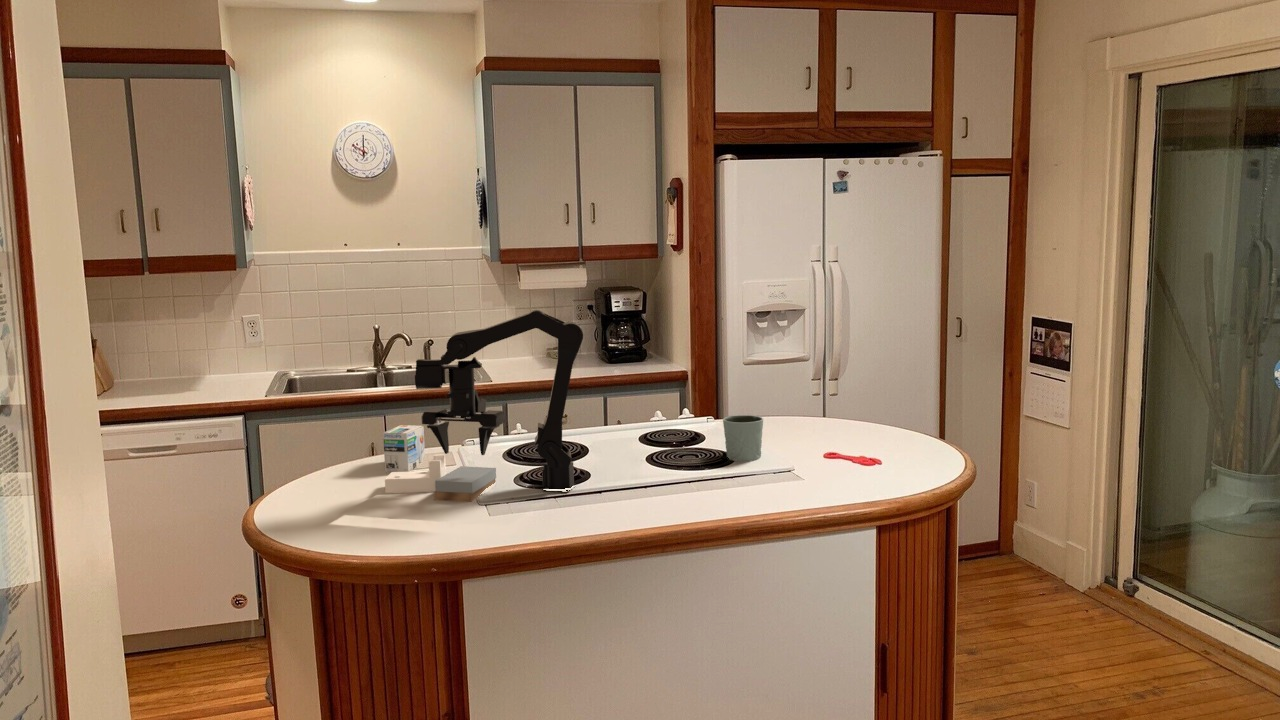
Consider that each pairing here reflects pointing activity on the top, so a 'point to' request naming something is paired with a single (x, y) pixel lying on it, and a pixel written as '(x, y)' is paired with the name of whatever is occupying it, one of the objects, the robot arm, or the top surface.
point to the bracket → (417, 478)
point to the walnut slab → (461, 494)
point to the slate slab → (465, 479)
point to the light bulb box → (403, 448)
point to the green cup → (743, 437)
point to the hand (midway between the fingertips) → (464, 454)
